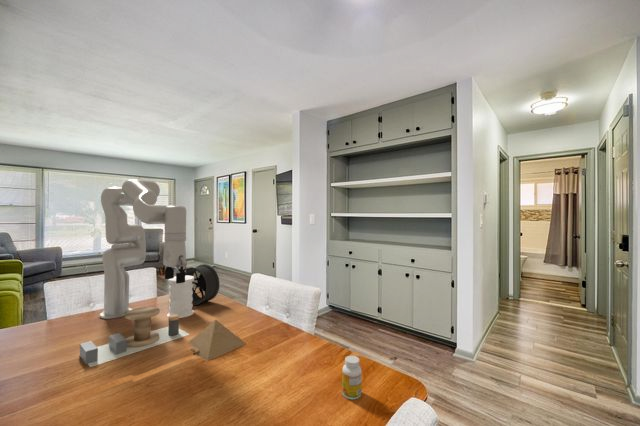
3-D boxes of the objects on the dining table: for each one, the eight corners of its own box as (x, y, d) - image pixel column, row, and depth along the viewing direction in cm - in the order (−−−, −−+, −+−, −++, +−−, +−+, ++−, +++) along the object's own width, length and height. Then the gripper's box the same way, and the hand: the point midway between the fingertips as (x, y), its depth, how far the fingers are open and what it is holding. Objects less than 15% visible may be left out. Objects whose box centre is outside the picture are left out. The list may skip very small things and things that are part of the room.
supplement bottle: (340, 388, 81) (341, 354, 81) (358, 387, 82) (359, 354, 82) (343, 400, 76) (344, 364, 76) (363, 399, 76) (364, 364, 76)
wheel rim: (219, 303, 152) (219, 266, 152) (206, 308, 144) (207, 269, 144) (191, 297, 160) (192, 262, 160) (177, 302, 152) (178, 265, 152)
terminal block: (79, 355, 93) (79, 343, 93) (118, 343, 102) (119, 332, 102) (85, 364, 88) (85, 351, 88) (126, 351, 97) (126, 339, 97)
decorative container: (186, 310, 141) (186, 274, 141) (199, 315, 134) (199, 277, 134) (162, 316, 132) (162, 278, 131) (174, 322, 125) (175, 282, 125)
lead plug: (166, 334, 111) (166, 316, 111) (176, 331, 114) (176, 313, 114) (170, 337, 108) (171, 318, 108) (180, 333, 111) (181, 316, 111)
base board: (79, 355, 96) (79, 352, 96) (173, 327, 120) (173, 324, 120) (90, 371, 87) (90, 367, 87) (189, 337, 111) (189, 334, 111)
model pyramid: (180, 348, 103) (180, 321, 103) (221, 332, 117) (222, 308, 117) (205, 363, 93) (205, 333, 93) (247, 344, 107) (248, 318, 107)
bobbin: (119, 340, 104) (120, 312, 104) (152, 331, 113) (152, 305, 113) (130, 350, 97) (130, 320, 97) (164, 339, 106) (164, 311, 106)
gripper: (156, 236, 113) (155, 278, 113) (175, 239, 102) (174, 286, 102) (175, 235, 119) (174, 275, 119) (195, 238, 108) (195, 282, 108)
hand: (174, 280), depth 111 cm, fingers open, 9 cm apart
